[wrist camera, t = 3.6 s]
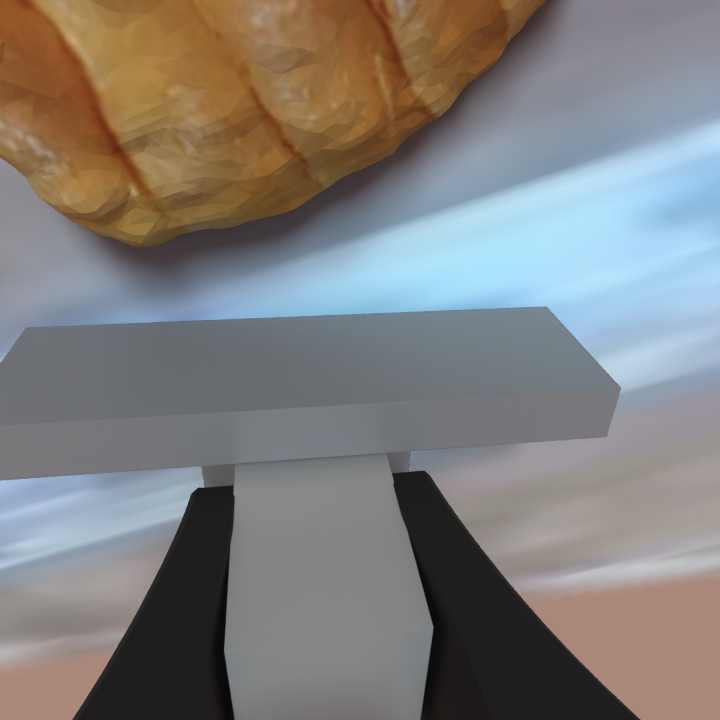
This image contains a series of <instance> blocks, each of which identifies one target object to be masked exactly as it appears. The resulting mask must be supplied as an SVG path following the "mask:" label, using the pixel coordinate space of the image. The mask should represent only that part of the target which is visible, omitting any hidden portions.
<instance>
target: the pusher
mask: <svg viewBox="0 0 720 720" xmlns="http://www.w3.org/2000/svg"><path fill="white" fill-rule="evenodd" d="M620 390H621V387H620V386H619V385H618V384H617V383H616V382H615V381H614V380H613V379H612V378H611V377H610V375H609V374H608V373H607V372H606V371H605V370H604V369H603V368H602V367H601V366H600V365H599V363H598V362H597V361H596V360H595V359H594V358H593V357H592V356H591V355H590V354H589V353H588V351H587V350H586V349H585V348H584V347H583V346H582V345H581V344H580V343H579V342H578V340H577V339H576V338H575V337H574V336H573V335H572V334H571V333H570V332H569V331H568V330H567V328H566V327H565V326H564V325H563V324H562V323H561V322H560V321H559V320H558V319H557V318H556V316H555V315H554V314H553V313H552V312H551V311H550V310H549V309H548V308H547V307H523V308H498V309H474V310H449V311H425V312H400V313H375V314H351V315H326V316H302V317H277V318H252V319H228V320H203V321H179V322H154V323H129V324H105V325H80V326H56V327H31V328H25V330H24V331H23V333H22V334H21V335H20V337H19V338H18V340H17V341H16V342H15V344H14V345H13V347H12V348H11V349H10V351H9V352H8V354H7V355H6V356H5V358H4V359H3V361H2V362H1V363H0V480H14V479H27V478H41V477H55V476H69V475H83V474H97V473H111V472H125V471H139V470H153V469H167V468H181V467H194V466H202V472H203V479H204V485H205V487H218V486H231V485H234V493H233V495H235V502H234V520H233V532H232V538H231V544H230V561H229V578H228V595H227V612H226V629H225V646H224V653H225V660H226V666H227V673H228V679H229V686H230V692H231V698H232V705H233V711H234V718H235V720H420V718H421V711H422V704H423V697H424V690H425V683H426V676H427V669H428V662H429V656H430V649H431V642H432V635H433V624H432V620H431V617H430V613H429V609H428V606H427V602H426V598H425V595H424V591H423V587H422V583H421V580H420V576H419V572H418V569H417V565H416V561H415V558H414V554H413V550H412V546H411V543H410V539H409V535H408V532H407V529H406V526H405V523H404V521H403V518H402V516H401V512H400V508H399V505H398V501H397V497H396V493H395V490H394V486H393V483H394V480H393V476H392V473H402V472H409V461H410V451H417V450H431V449H445V448H459V447H473V446H487V445H501V444H514V443H528V442H542V441H556V440H570V439H584V438H598V437H606V436H607V433H608V430H609V426H610V423H611V420H612V417H613V413H614V410H615V407H616V403H617V400H618V397H619V394H620Z"/></svg>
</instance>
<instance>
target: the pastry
mask: <svg viewBox="0 0 720 720" xmlns="http://www.w3.org/2000/svg"><path fill="white" fill-rule="evenodd" d="M546 1H547V0H0V158H2V159H3V160H5V161H6V162H8V163H9V164H11V165H12V166H13V167H14V168H15V169H17V170H18V171H19V172H20V173H21V174H23V175H24V176H25V177H26V178H27V180H28V182H29V183H30V185H31V187H32V188H33V190H34V191H35V193H36V194H37V196H39V197H40V198H41V199H43V200H44V201H45V202H47V203H48V204H49V205H51V206H52V207H53V208H55V209H56V210H57V211H59V212H60V213H62V214H63V215H65V216H66V217H67V218H69V219H70V220H72V221H73V222H75V223H77V224H79V225H81V226H83V227H85V228H87V229H88V230H90V231H92V232H94V233H96V234H98V235H102V236H106V237H111V238H115V239H117V240H120V241H122V242H124V243H126V244H128V245H133V246H135V247H148V246H158V245H162V244H164V243H166V242H167V241H169V240H171V239H173V238H175V237H177V236H179V235H183V234H187V233H190V232H194V231H199V230H203V229H208V228H209V229H226V228H231V227H235V226H238V225H241V224H244V223H247V222H251V221H256V220H260V219H263V218H266V217H270V216H276V215H279V214H283V213H286V212H289V211H292V210H294V209H296V208H297V207H299V206H301V205H302V204H304V203H305V202H307V201H308V200H309V199H311V198H312V197H314V196H315V195H317V194H318V193H320V192H322V191H323V190H325V189H327V188H329V187H330V186H331V185H333V184H334V183H335V182H337V181H338V180H339V179H341V178H343V177H345V176H347V175H348V174H351V173H354V172H356V171H359V170H361V169H364V168H366V167H368V166H370V165H372V164H374V163H376V162H379V161H381V160H383V159H385V158H387V157H389V156H391V155H393V154H394V152H395V151H396V150H397V149H398V147H399V146H400V145H401V144H402V142H403V141H404V140H406V139H407V138H408V137H409V136H411V135H412V134H413V133H414V132H416V131H417V130H419V129H421V128H422V127H424V126H426V125H427V124H429V123H431V122H432V121H434V120H436V119H437V118H439V117H440V116H441V115H442V114H443V113H444V112H446V111H447V110H448V109H449V108H450V106H451V105H452V104H453V102H454V101H455V100H456V98H457V97H458V96H459V94H460V93H461V92H462V91H463V89H464V88H465V87H466V86H467V85H468V84H469V83H470V82H471V81H473V80H474V79H476V78H477V77H479V76H480V75H481V74H483V73H484V72H485V71H487V70H488V69H489V68H491V67H492V66H493V65H494V64H496V63H497V62H498V60H499V58H500V56H501V55H502V53H503V51H504V49H505V47H506V45H507V43H508V42H509V40H510V39H512V38H513V37H514V36H515V35H516V34H517V33H518V32H519V31H520V30H521V29H522V28H523V26H524V25H525V23H526V22H527V20H528V19H529V17H530V16H531V15H532V14H533V13H534V12H535V11H536V10H537V9H538V8H539V7H540V6H541V5H543V4H544V3H545V2H546Z"/></svg>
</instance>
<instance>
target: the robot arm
mask: <svg viewBox="0 0 720 720" xmlns="http://www.w3.org/2000/svg"><path fill="white" fill-rule="evenodd" d="M392 476H393V480H394V483H393V486H394V490H395V493H396V497H397V501H398V505H399V508H400V512H401V516H402V518H403V521H404V523H405V526H406V529H407V532H408V535H409V539H410V543H411V546H412V550H413V554H414V558H415V561H416V565H417V569H418V572H419V576H420V580H421V583H422V587H423V591H424V595H425V598H426V602H427V606H428V609H429V613H430V617H431V620H432V624H433V635H432V642H431V649H430V656H429V662H428V669H427V676H426V683H425V690H424V697H423V704H422V711H421V718H420V720H640V719H639V718H638V717H637V716H636V715H635V714H634V713H633V712H632V711H630V710H629V709H628V708H627V707H626V706H625V705H624V704H623V703H622V702H621V701H620V700H619V699H618V698H617V697H616V696H615V695H613V694H612V693H611V692H610V691H609V690H608V689H607V688H606V687H605V686H604V685H603V684H602V683H601V682H600V681H599V680H598V679H597V678H596V677H595V676H594V675H593V674H592V673H591V672H590V671H589V670H588V669H587V668H586V667H585V666H584V665H583V664H582V663H581V662H580V661H579V660H578V659H577V658H576V657H575V656H574V655H573V654H572V653H571V652H570V651H569V650H568V649H567V648H566V647H565V646H564V645H563V643H562V642H561V641H560V640H559V639H558V638H557V637H556V636H555V635H554V634H553V633H552V632H551V631H550V629H549V628H548V627H547V626H546V625H545V624H544V623H543V622H542V621H541V619H540V618H539V617H538V616H537V615H536V614H535V613H534V612H533V610H532V609H531V608H530V607H529V606H528V605H527V604H526V603H525V601H524V600H523V599H522V598H521V597H520V596H519V594H518V593H517V592H516V591H515V590H514V588H513V587H512V586H511V585H510V584H509V582H508V581H507V580H506V579H505V578H504V576H503V575H502V574H501V573H500V571H499V570H498V569H497V568H496V566H495V565H494V564H493V563H492V561H491V560H490V559H489V558H488V556H487V555H486V554H485V553H484V551H483V550H482V549H481V547H480V546H479V545H478V543H477V542H476V541H475V540H474V538H473V537H472V536H471V534H470V533H469V531H468V530H467V529H466V527H465V526H464V525H463V523H462V522H461V521H460V519H459V518H458V516H457V515H456V514H455V512H454V511H453V509H452V508H451V506H450V505H449V504H448V502H447V501H446V499H445V498H444V496H443V495H442V493H441V492H440V490H439V489H438V487H437V486H436V484H435V483H434V481H433V480H432V478H431V476H430V475H429V474H428V473H426V472H425V471H415V472H402V473H392ZM233 493H234V485H231V486H218V487H205V488H197V489H196V490H195V491H194V492H193V493H192V494H191V497H190V499H189V502H188V505H187V508H186V511H185V513H184V516H183V518H182V521H181V523H180V526H179V528H178V530H177V533H176V535H175V537H174V540H173V542H172V544H171V546H170V548H169V550H168V552H167V555H166V557H165V559H164V561H163V563H162V565H161V567H160V569H159V571H158V573H157V575H156V577H155V579H154V581H153V583H152V585H151V587H150V589H149V591H148V593H147V595H146V596H145V598H144V600H143V602H142V604H141V606H140V608H139V610H138V612H137V614H136V615H135V617H134V619H133V621H132V623H131V624H130V626H129V628H128V629H127V631H126V633H125V635H124V636H123V638H122V640H121V642H120V643H119V645H118V647H117V648H116V650H115V652H114V654H113V655H112V657H111V659H110V660H109V662H108V664H107V666H106V667H105V669H104V671H103V673H102V674H101V676H100V677H99V679H98V680H97V682H96V684H95V685H94V687H93V688H92V690H91V692H90V693H89V695H88V696H87V698H86V700H85V701H84V703H83V704H82V706H81V707H80V709H79V710H78V712H77V713H76V715H75V717H74V718H73V720H235V718H234V711H233V705H232V698H231V692H230V686H229V679H228V673H227V666H226V660H225V653H224V646H225V629H226V612H227V595H228V578H229V561H230V544H231V538H232V532H233V520H234V502H235V495H233Z"/></svg>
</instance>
